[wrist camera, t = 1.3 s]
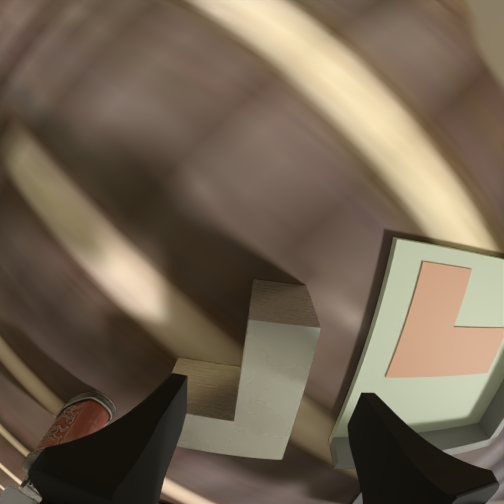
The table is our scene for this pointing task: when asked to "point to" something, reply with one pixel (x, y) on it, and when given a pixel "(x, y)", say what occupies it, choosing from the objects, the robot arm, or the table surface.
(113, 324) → the table surface
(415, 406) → the arena
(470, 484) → the robot arm
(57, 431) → the lighter
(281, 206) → the table surface
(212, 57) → the table surface
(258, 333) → the bracket
